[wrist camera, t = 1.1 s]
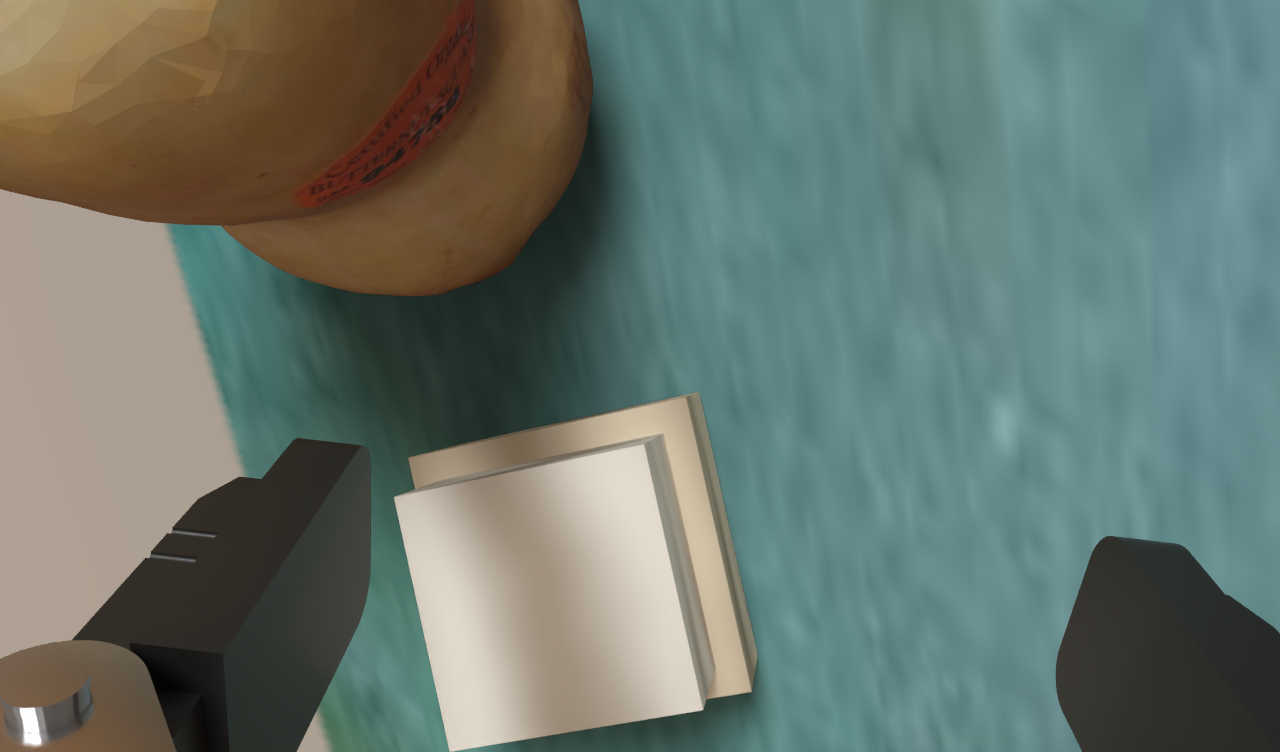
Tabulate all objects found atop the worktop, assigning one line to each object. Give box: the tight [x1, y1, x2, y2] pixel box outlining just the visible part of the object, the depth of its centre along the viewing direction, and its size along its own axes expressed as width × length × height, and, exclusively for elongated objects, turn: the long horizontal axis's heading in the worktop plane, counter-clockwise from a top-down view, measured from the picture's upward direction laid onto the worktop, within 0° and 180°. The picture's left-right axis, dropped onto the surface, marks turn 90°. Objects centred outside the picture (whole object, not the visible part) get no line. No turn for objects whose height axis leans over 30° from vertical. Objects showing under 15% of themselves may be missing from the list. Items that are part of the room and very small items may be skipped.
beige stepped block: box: [394, 392, 758, 752], centre depth 34 cm, size 10×10×8 cm
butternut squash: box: [0, 0, 593, 296], centre depth 26 cm, size 14×13×25 cm
